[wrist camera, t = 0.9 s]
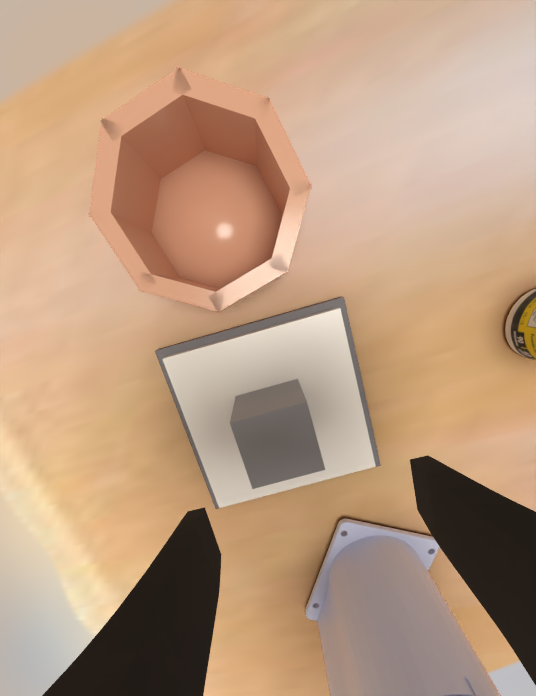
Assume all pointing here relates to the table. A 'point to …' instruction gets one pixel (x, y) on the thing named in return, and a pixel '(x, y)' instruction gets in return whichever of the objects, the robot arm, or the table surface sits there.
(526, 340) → the supplement bottle
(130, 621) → the robot arm
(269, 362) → the lid
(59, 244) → the table surface
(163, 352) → the mat
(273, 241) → the bowl
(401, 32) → the table surface
